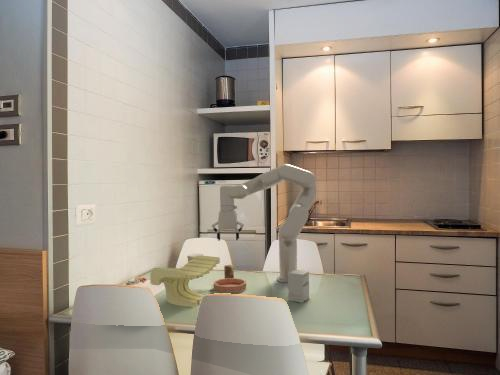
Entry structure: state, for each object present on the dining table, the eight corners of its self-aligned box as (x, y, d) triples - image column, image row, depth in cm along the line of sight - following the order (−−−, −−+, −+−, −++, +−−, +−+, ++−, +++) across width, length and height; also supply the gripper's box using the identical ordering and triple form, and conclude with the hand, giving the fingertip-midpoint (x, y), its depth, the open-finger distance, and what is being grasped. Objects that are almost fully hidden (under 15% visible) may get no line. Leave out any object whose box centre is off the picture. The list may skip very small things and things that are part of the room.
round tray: (246, 284, 209) (246, 278, 208) (245, 293, 193) (245, 286, 193) (216, 284, 209) (216, 278, 209) (212, 294, 193) (211, 286, 193)
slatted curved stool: (193, 290, 201) (193, 254, 200) (220, 294, 193) (219, 257, 192) (151, 307, 175) (150, 267, 174) (179, 313, 167) (178, 270, 166)
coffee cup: (201, 278, 223) (200, 256, 223) (185, 277, 225) (184, 256, 225) (206, 274, 233) (206, 253, 232) (191, 273, 234) (190, 253, 234)
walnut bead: (234, 279, 219) (233, 265, 219) (233, 282, 214) (233, 267, 214) (225, 279, 220) (224, 265, 219) (224, 282, 215) (223, 267, 214)
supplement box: (303, 303, 177) (302, 274, 177) (288, 300, 181) (287, 272, 181) (309, 298, 184) (309, 271, 183) (295, 296, 188) (294, 269, 187)
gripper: (243, 207, 219) (244, 238, 220) (212, 208, 220) (213, 239, 221) (242, 208, 212) (243, 241, 212) (210, 209, 213) (211, 241, 213)
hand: (228, 240), depth 216 cm, fingers open, 9 cm apart
